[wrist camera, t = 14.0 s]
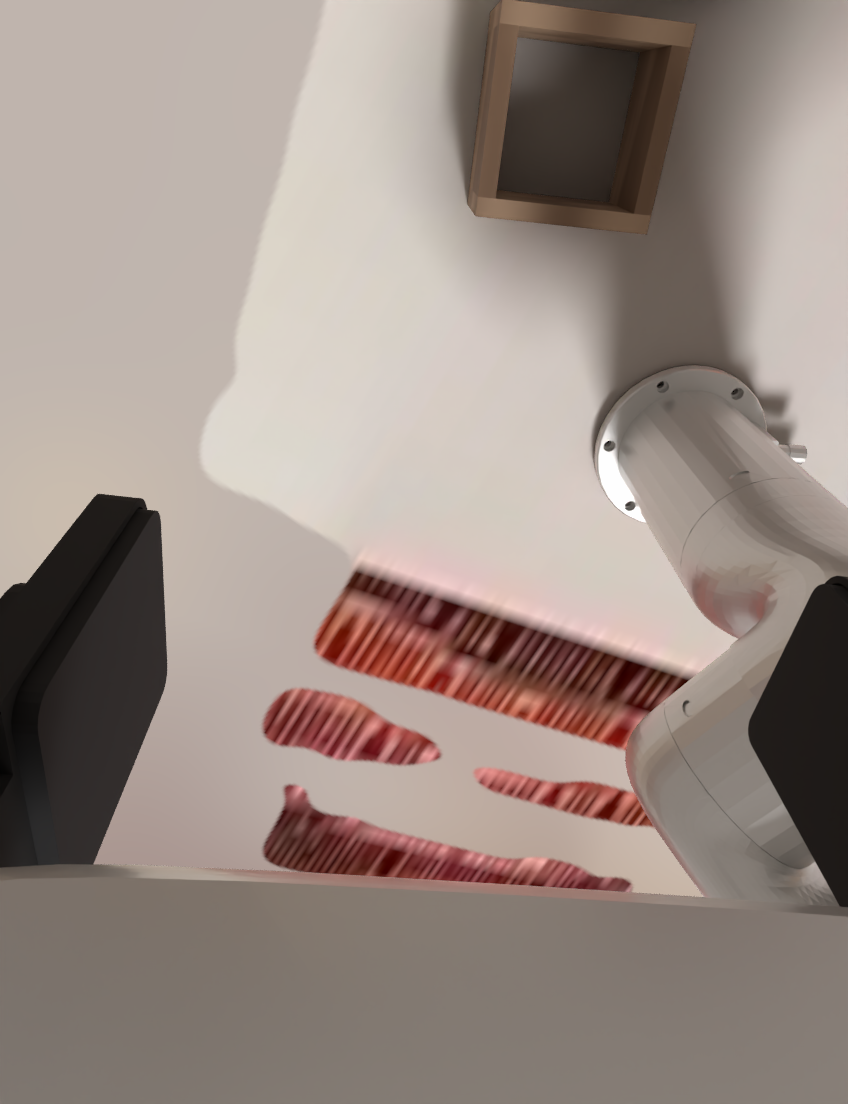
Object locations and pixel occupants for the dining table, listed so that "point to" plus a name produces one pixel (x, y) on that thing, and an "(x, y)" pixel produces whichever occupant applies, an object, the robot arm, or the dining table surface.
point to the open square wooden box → (644, 125)
